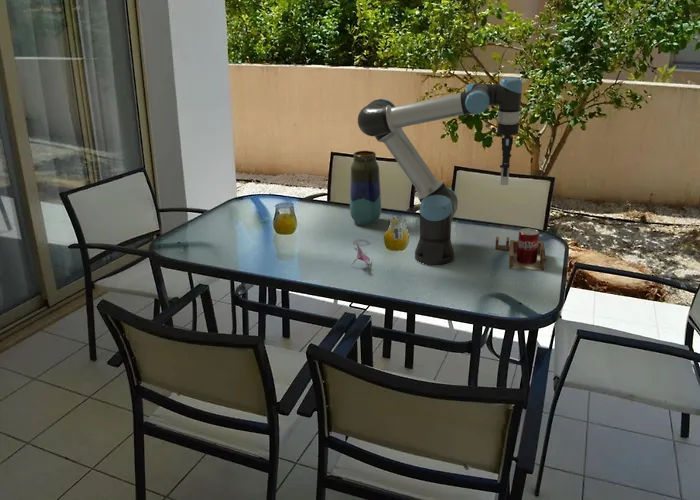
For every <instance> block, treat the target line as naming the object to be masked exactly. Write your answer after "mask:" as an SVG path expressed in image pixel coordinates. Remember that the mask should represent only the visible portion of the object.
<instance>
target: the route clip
mask: <svg viewBox="0 0 700 500" xmlns="http://www.w3.org/2000/svg"><path fill="white" fill-rule="evenodd" d="M499 240H500V236H496V237H495V247H494V248H495V250H497V251H498V250H499V251H509V249H510V237H508V236H506V240H505V244H499Z"/></svg>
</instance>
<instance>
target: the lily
mask: <svg viewBox="0 0 700 500" xmlns="http://www.w3.org/2000/svg"><path fill="white" fill-rule="evenodd" d="M352 240H353V242H355V244H356V247H353V249H354V250H355V252H356V259H354V261H353V262H352V264H354V263H355V262H356V261H357V260H360V261H363V262H364V264H365V263H366V265H368V264H369V263H371V262H370V260H371V259H370V257H369V256H368V255H367V252H364V251H363V250H362V248H361V247H360V245H359V243H358V242H357V241H356V240H355V239H354V238H353V239H352Z"/></svg>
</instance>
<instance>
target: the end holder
mask: <svg viewBox="0 0 700 500" xmlns="http://www.w3.org/2000/svg"><path fill="white" fill-rule="evenodd" d="M517 249H518V240H514V239H509V250H508V252H509V253H508V255H509V256H508V257H509V259H508V269H509V270H525V271H536V272H537V271H538V272H545V269H546V260H547V256H546V255H547V254H546V250H545V242H544V241H539V244H538V254H537V262H536V263H535V264H533V265H523V264H520V263H519V262H518V261H517Z"/></svg>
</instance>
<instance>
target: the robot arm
mask: <svg viewBox="0 0 700 500" xmlns="http://www.w3.org/2000/svg"><path fill="white" fill-rule="evenodd" d="M522 81H523V80H522V79H520V78H517V77H504V78H501V79H500V82H499V83H496V84H495V83H477V82H475V83H468V84H466V85H465V86H466V87H465V91H464V92H459V93H455V94H450V95H445V96H440V97H435V98H431V99H427V100H425V99H424V100H422V101H416V102H412V103H407V104H402V105H395V104H394V103H393V102H392V101H390V100H388V99H385V98H378V99H375V100H372V101H371V102H370V103H368V104H367V105H365V106H364V107H363V108H362V109H361V110H360V112H359V113H358V115H357V125H358V128H359V130H360V131H361V132H362V133H363V134H365V135H366V136H369V137H375V139H376V140H377V141H378V142H379V143H383V144H384V145H385V146H386V148H387V150H388V151H389V152H390V154H391V155H392V156H393V158H394V159H395V161H396V162H397V163H398V165H399V167H400V168H401V170H402V171H403V172H404V174H405V175H406V177H407V178H408V180H410V182H411V184H412V185H413V186H414V188H415V190H416V191H417V192H418V197H417V200H418V201H419V202H420V204H419V240H418V242H417V245H416V248H415V250H414V259H415V261H416V260H417V261H416V262H418V261H419V262H421V263H420V264H422V263H424V264H423V265H425V264H427V265H426V266H431V265H436V266H435V267H438V266H439V267H440V266H445V265H449V264H451V263H453V262H454V261H455V258H456V257H455V256H456V255H455V254H456V253H455V249H454V246H453V243H452V239H451V237H452V235H451V234H452V220H453V218H454V215H455V214H456V212H457V210H458V197H457V194H456V192H455V191H454V190H452V189H451V188H450V187H447V186H446V184H445V182H444V181H443V180H438V179H437V178H436V176H435V175H434V173H433V172H432V170H431V169H430V168H429V166H428V164H427V163H426V162H425V160H424V159H423V158H422V156H421V155H420V153H419V152H418V150H417V149H416V147H415V146H414V145H413V143H412V142H411V140H410V139H409V137H408V136H407V133H405V131H404V130H403V128H406V127H410V126H415V125H419V124H424V123H430V122H434V121H439V120H445V119H449V118H454V117H459V116H464V115H465V116H466V115H471V114H473V115H480V114H482V113H484V112H486V110H487V109H488V107H490V106H491V107H492V106H493V107H494V106H498V112H497V122H498V123H497V130H496V132H497V134H499V135H503V137H501V152H502V154H501V156H502V157H501V165H499V168H500V183H499V185H501V186H502V185H503V186H509V177H510V176H509V175H510V166H511V165H510V161H511V157H512V153H511V152H512V149H513V148H512V147H513V143H514V138H513V137H511V136H514V135H518V134H519V131H520V129H519V128H520V124H519V122H520V117H522V113H521V105H522V92H523V82H522ZM419 262H418V263H419ZM437 265H438V266H437Z"/></svg>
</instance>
